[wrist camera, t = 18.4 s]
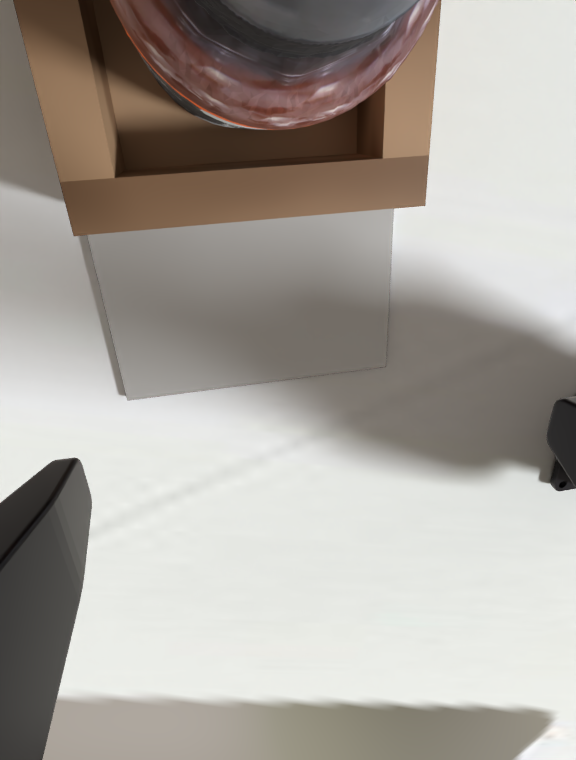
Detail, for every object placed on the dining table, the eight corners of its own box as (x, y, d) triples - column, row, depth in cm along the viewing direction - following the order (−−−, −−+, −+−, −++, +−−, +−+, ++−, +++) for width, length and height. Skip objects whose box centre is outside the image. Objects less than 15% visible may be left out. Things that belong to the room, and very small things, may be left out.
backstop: (423, 359, 24) (488, 426, 19) (82, 403, 22) (47, 492, 16) (484, -328, 14) (669, -611, 8) (-148, -370, 11) (-428, -779, 6)
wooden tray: (387, 191, 19) (424, 205, 16) (93, 216, 17) (73, 236, 14) (405, -225, 14) (466, -324, 11) (-12, -239, 12) (-79, -358, 9)
